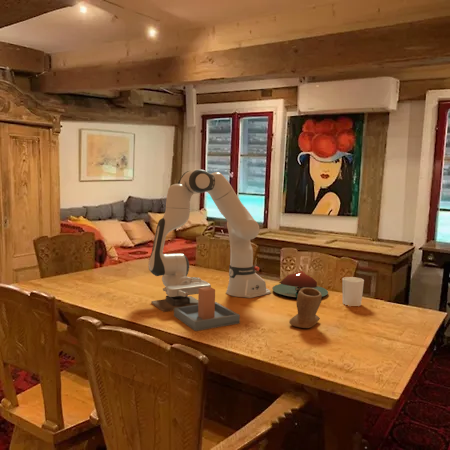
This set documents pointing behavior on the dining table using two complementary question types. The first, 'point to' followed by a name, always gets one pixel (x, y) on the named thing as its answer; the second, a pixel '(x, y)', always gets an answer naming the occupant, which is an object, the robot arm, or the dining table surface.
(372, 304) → the dining table surface
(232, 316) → the tray
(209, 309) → the terracotta block
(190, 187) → the robot arm
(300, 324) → the stone cup
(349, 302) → the candle holder
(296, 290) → the red dome on disc
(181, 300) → the holder
